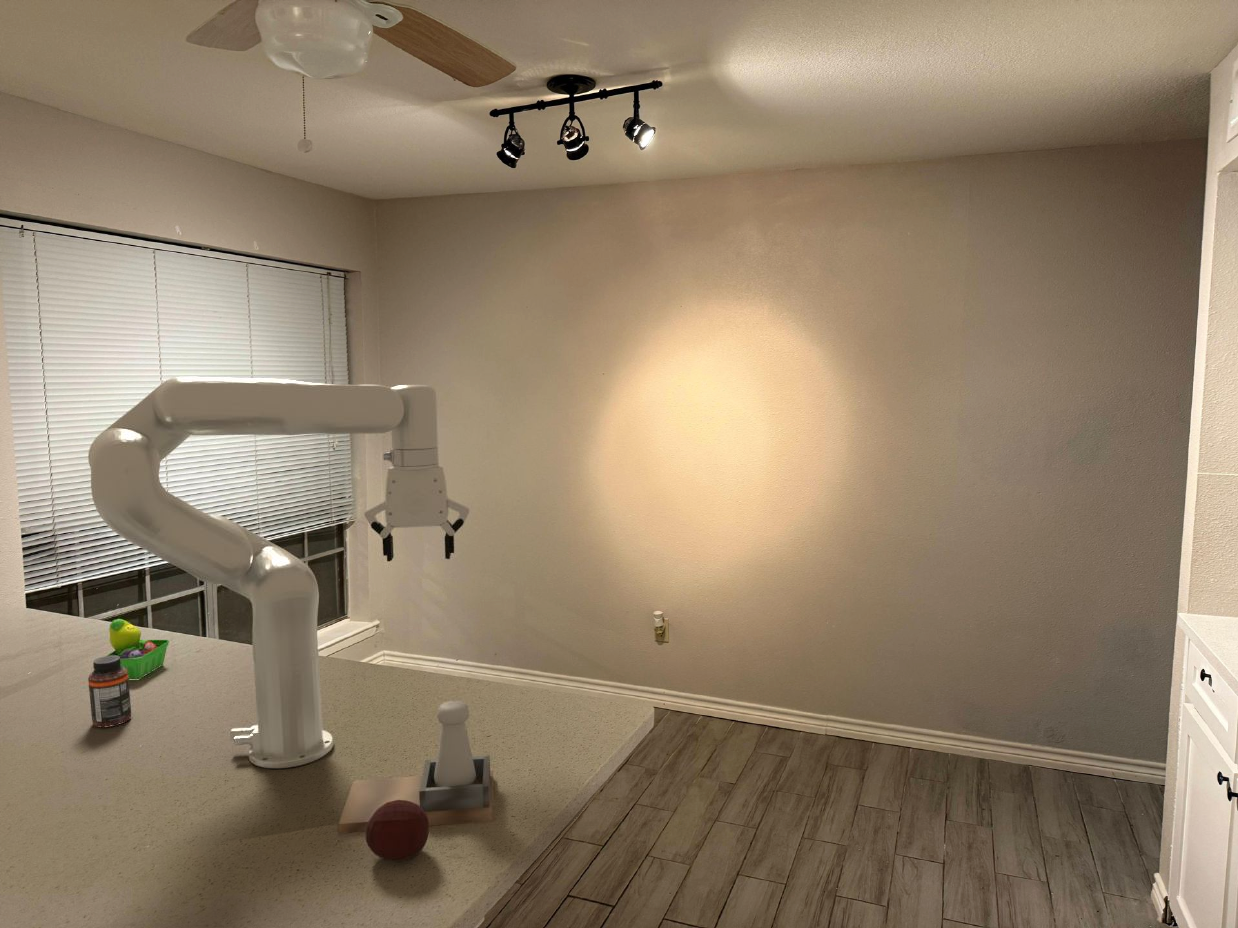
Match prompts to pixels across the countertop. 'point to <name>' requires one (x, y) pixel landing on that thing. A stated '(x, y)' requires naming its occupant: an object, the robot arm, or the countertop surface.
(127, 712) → the supplement bottle
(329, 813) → the countertop surface
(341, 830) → the shaker caddy
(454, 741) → the salt shaker
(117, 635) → the fruit basket
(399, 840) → the dark red ball
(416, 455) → the robot arm
